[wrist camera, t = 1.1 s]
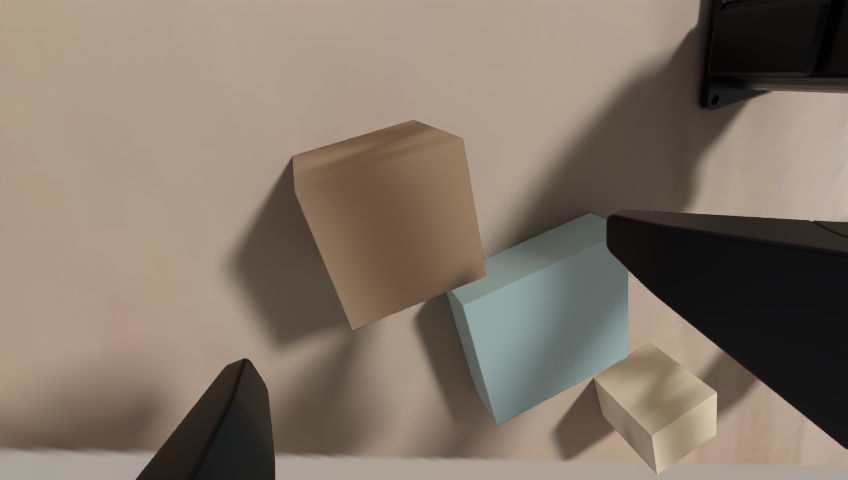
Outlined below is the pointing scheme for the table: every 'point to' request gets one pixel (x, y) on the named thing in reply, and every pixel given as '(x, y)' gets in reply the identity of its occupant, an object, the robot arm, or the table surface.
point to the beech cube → (657, 406)
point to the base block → (543, 317)
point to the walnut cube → (391, 217)
